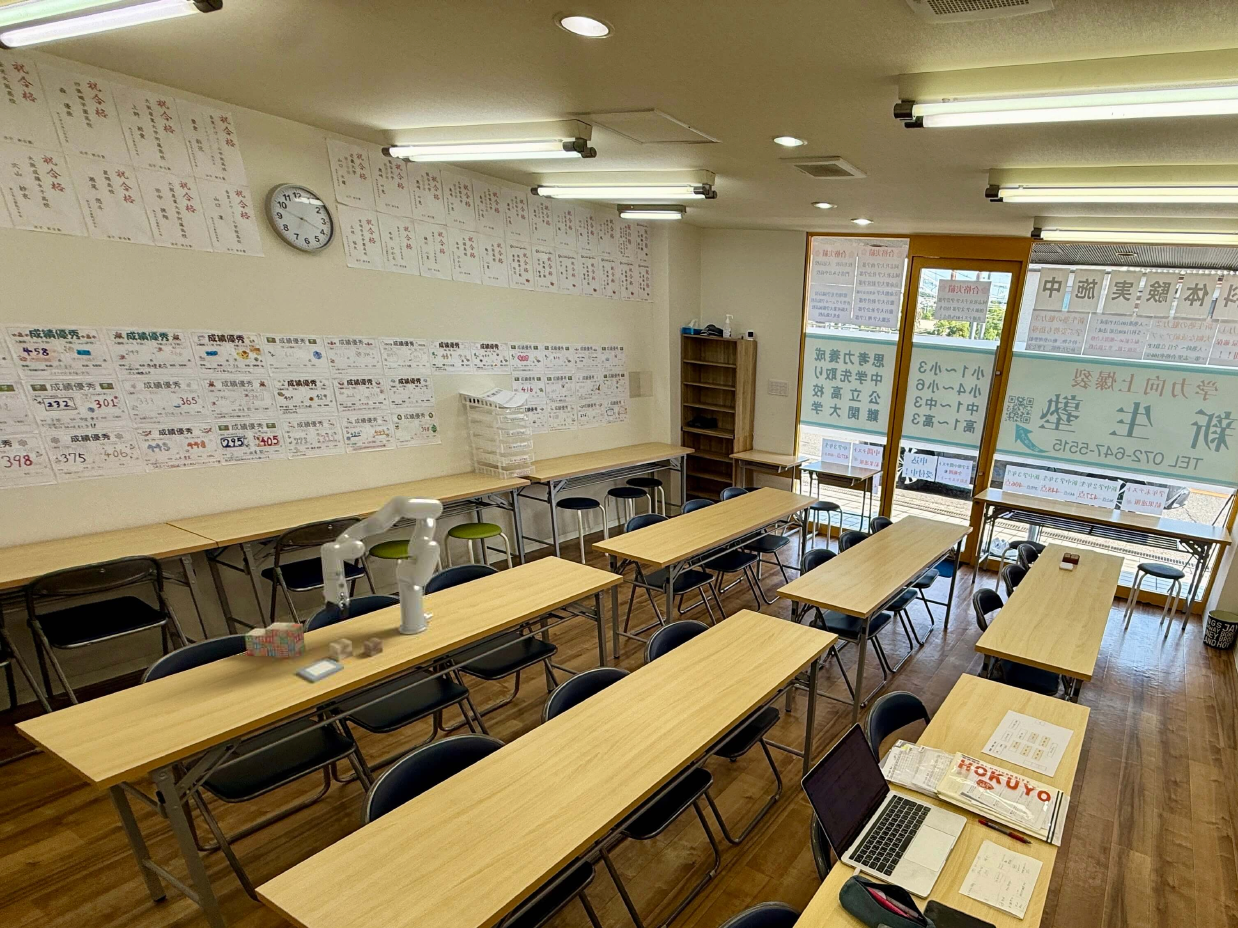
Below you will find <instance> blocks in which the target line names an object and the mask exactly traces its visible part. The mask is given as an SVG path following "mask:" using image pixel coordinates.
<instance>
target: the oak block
mask: <svg viewBox="0 0 1238 928" xmlns="http://www.w3.org/2000/svg"><path fill="white" fill-rule="evenodd" d="M328 647H329V653H330V656H329V657H330V659H331V660H333V661H335V662H337V663H339V662H342V661H344V660H346V659H349V658H351V657H354V651H353V642H352V641H351V640H349V639H347V638H341V639H338V640H336V641H333V642H331V643H329V646H328Z"/></svg>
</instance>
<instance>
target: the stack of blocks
mask: <svg viewBox="0 0 1238 928" xmlns="http://www.w3.org/2000/svg"><path fill="white" fill-rule="evenodd" d="M244 641H245V649H246V655H247V656H249V657H250V656H251V657H264V658H265V657H266V658H282V659H283V658H285V659H297V658H298V657H299V656H301V655H302V654H303V653H305V652H306V644H305V633H304V624H303V623H297V622H273V623H272V624H271V625H269V626H267V627H266V628H258V627H257V628H254V629H252V630H251V631H248V632H247V633H246V634H245V635H244Z"/></svg>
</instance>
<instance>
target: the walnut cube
mask: <svg viewBox="0 0 1238 928" xmlns="http://www.w3.org/2000/svg"><path fill="white" fill-rule="evenodd" d="M383 648H384V647H383V640H382V639H379V638H378V637H372V638H370V639H368V640H366V641H364V642H363V651H364V655H366V656H369V657H375V656H377V655H378V654H381V653H383V652H384V649H383Z"/></svg>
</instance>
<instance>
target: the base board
mask: <svg viewBox="0 0 1238 928" xmlns="http://www.w3.org/2000/svg"><path fill="white" fill-rule="evenodd" d="M342 670H345V666H344V665H343V664H341V663H339V662H338V661H336V660H334V659H332V658H328V657H325V658H323V659H320V660H317V661H315V662H313V663H311V664H309V665H306V666H304V667H302V668H300V669H298V670H296V674H297V675H298V676H301V677H302V678H303V679H304V678H305V679H306V680H308V681H310V682H311V683H313V684H314V683H315V684H316V682H317V683H318V682H319V681H320V680H324V679H326V678H327V677H330V676H333V675H335V674H336V673H339V672H341V671H342Z"/></svg>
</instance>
